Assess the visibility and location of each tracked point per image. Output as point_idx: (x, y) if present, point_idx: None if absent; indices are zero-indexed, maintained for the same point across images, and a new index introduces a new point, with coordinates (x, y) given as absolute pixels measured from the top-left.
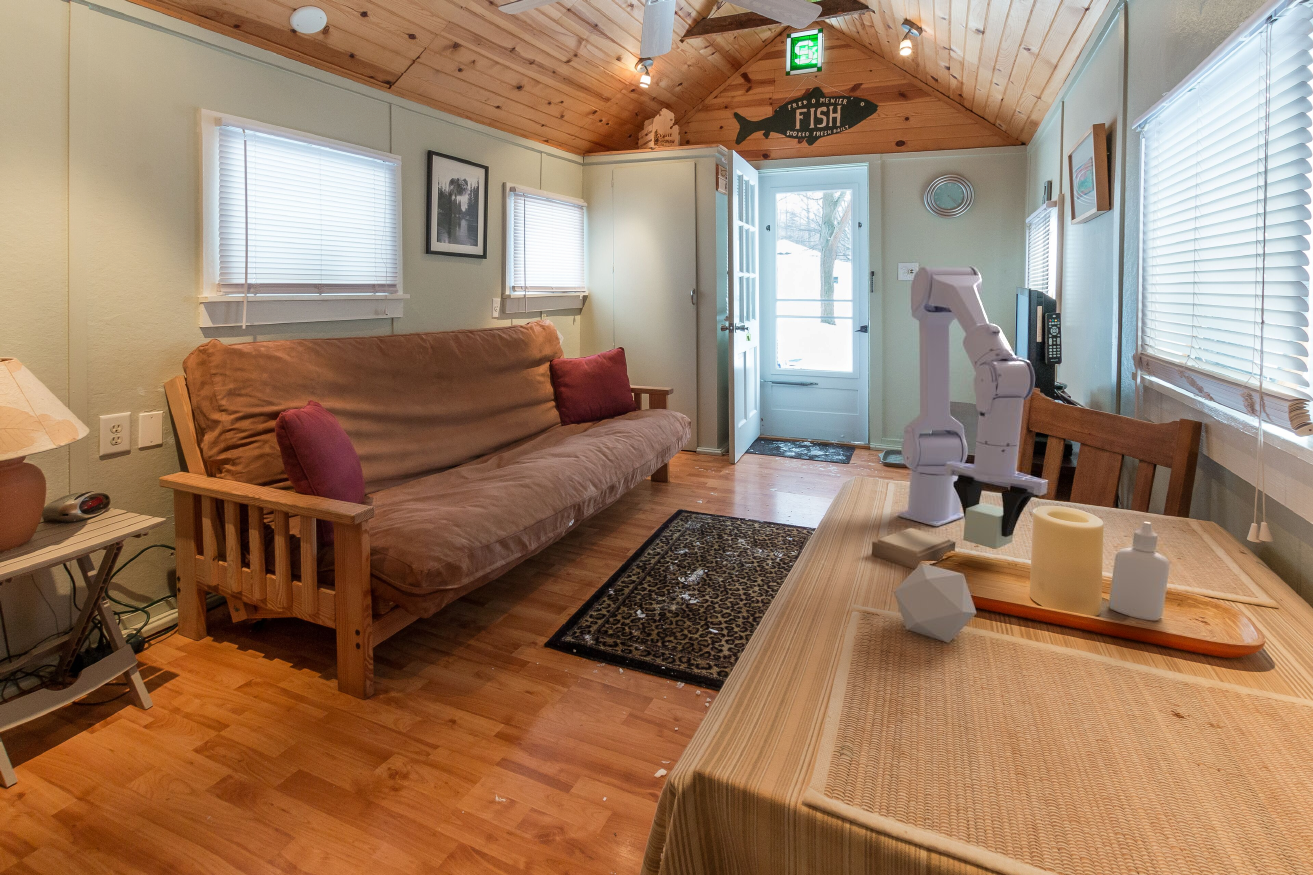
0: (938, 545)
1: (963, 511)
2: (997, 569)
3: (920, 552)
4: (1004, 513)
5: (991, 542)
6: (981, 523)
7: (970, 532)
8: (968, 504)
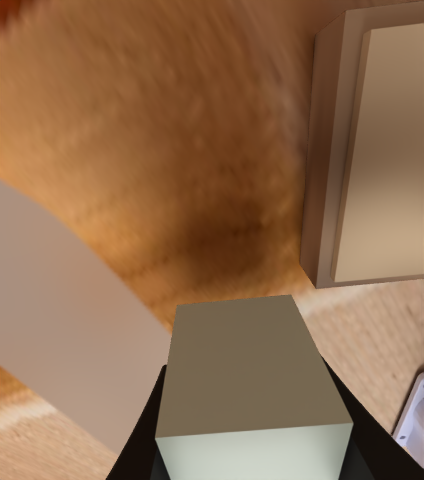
0: (340, 211)
1: (362, 407)
2: (173, 270)
3: (360, 64)
4: (144, 476)
5: (190, 317)
6: (242, 369)
7: (275, 321)
8: (363, 462)
